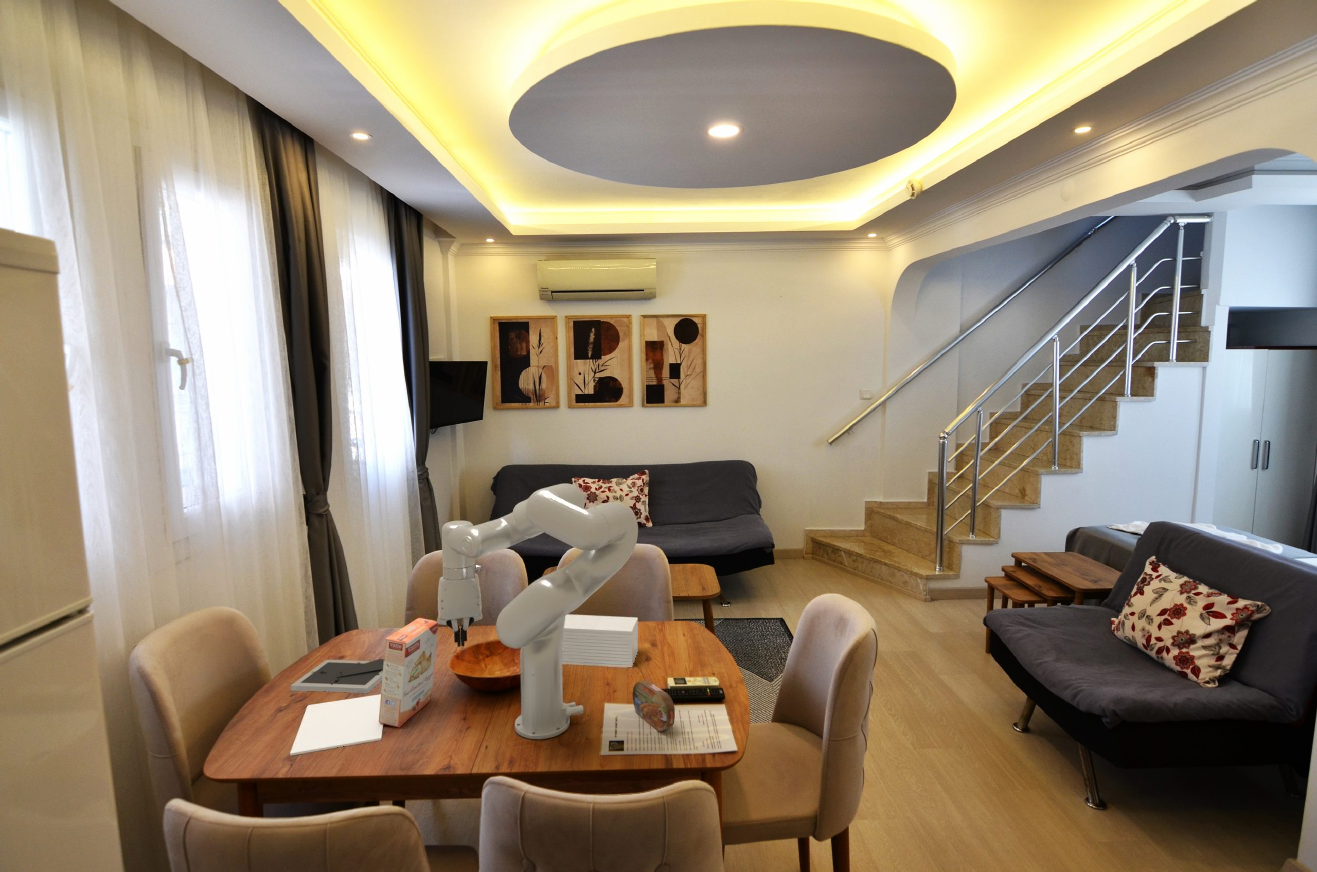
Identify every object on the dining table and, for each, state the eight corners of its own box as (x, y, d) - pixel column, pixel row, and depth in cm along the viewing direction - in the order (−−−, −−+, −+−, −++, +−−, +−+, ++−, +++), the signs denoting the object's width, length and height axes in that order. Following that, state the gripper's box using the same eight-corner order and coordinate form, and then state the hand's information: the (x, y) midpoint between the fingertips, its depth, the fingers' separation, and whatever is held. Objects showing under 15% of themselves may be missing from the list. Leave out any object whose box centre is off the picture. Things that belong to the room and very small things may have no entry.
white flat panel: (386, 695, 165) (386, 693, 165) (381, 740, 144) (381, 737, 144) (307, 707, 159) (307, 705, 159) (290, 755, 138) (289, 753, 138)
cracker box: (400, 729, 149) (407, 642, 147) (377, 723, 150) (383, 637, 148) (433, 700, 163) (439, 620, 161) (411, 695, 164) (417, 616, 162)
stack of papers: (521, 662, 185) (521, 625, 184) (533, 647, 196) (532, 612, 195) (631, 668, 181) (631, 631, 180) (637, 652, 192) (637, 617, 191)
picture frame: (397, 669, 182) (326, 666, 183) (396, 659, 181) (326, 657, 183) (367, 696, 166) (290, 693, 168) (367, 685, 166) (290, 682, 167)
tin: (631, 710, 158) (631, 676, 157) (642, 706, 160) (642, 673, 159) (665, 738, 145) (665, 702, 145) (677, 734, 147) (677, 698, 146)
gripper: (489, 564, 164) (490, 635, 166) (426, 570, 159) (428, 642, 161) (491, 573, 157) (493, 646, 159) (426, 579, 152) (428, 654, 154)
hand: (460, 644), depth 160 cm, fingers closed
